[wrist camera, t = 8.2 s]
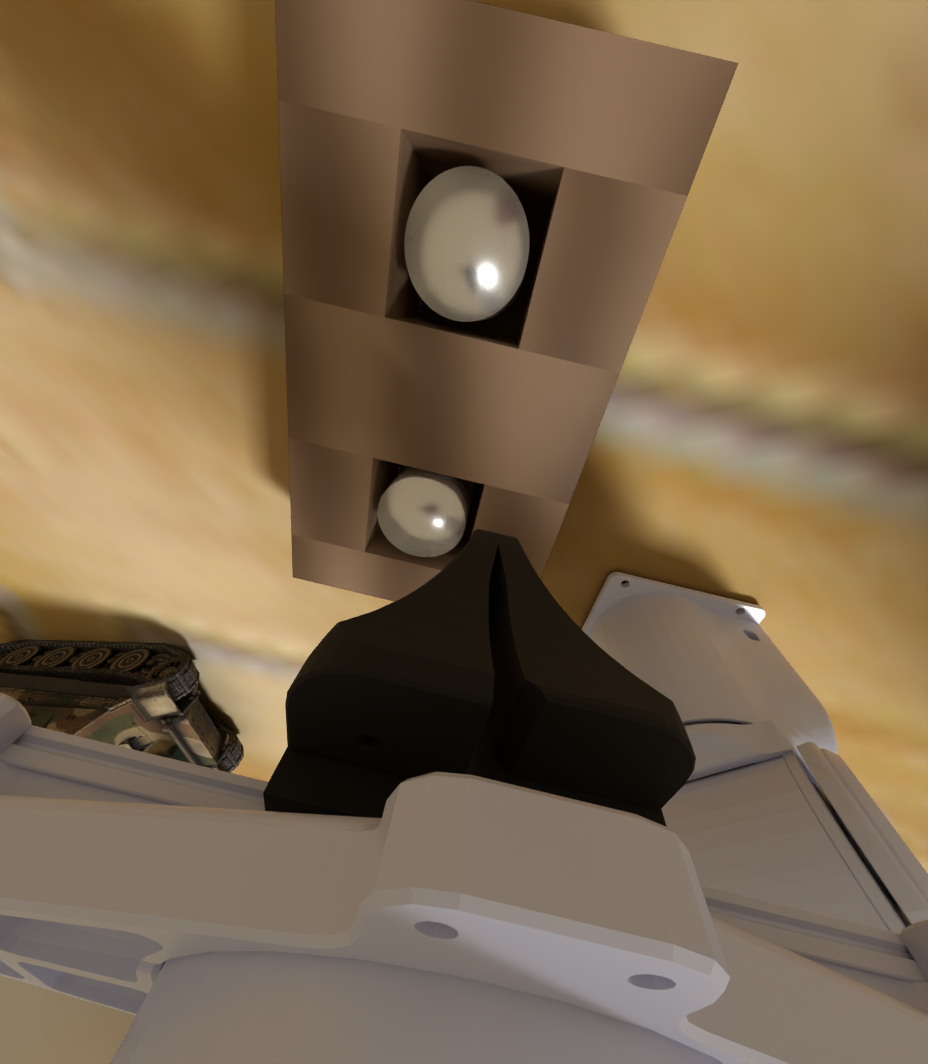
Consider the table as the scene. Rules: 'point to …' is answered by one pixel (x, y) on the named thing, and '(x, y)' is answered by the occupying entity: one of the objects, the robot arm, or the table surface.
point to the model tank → (118, 697)
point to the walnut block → (388, 293)
